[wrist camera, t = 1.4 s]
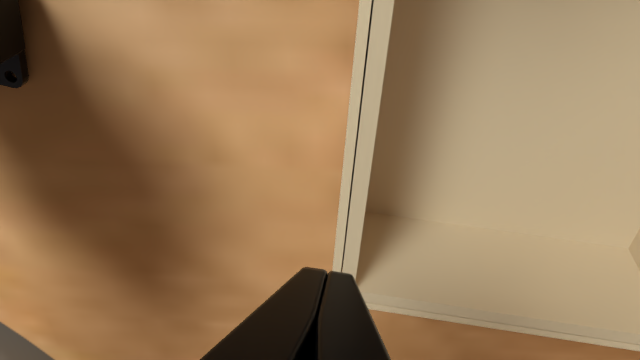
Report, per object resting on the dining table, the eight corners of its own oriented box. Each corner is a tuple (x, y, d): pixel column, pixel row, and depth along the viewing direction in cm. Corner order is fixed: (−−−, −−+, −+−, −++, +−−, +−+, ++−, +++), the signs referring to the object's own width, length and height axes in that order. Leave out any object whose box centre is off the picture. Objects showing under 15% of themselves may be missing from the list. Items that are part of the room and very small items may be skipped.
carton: (344, 218, 23) (329, 302, 19) (397, -271, 13) (390, -309, 9) (629, 258, 22) (677, 357, 18) (911, -243, 12) (1153, -273, 8)
